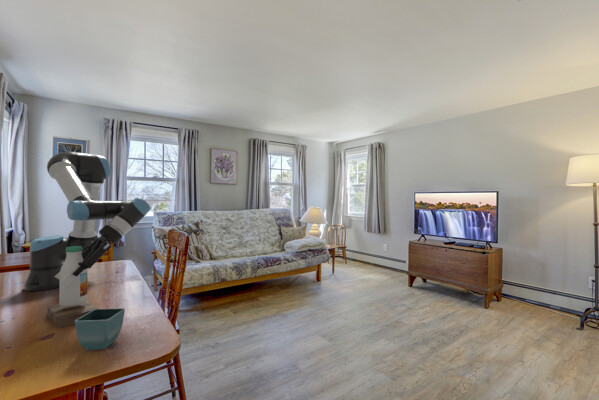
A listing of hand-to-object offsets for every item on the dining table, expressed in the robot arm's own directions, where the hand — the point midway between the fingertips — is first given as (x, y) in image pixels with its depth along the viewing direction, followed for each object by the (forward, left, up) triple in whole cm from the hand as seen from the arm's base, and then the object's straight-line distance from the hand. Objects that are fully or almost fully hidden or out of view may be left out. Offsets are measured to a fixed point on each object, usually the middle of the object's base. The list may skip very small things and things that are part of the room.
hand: (61, 281), depth 97 cm
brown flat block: (0, +3, -13) cm, 14 cm away
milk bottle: (0, +4, -9) cm, 9 cm away
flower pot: (+31, +2, -13) cm, 34 cm away
